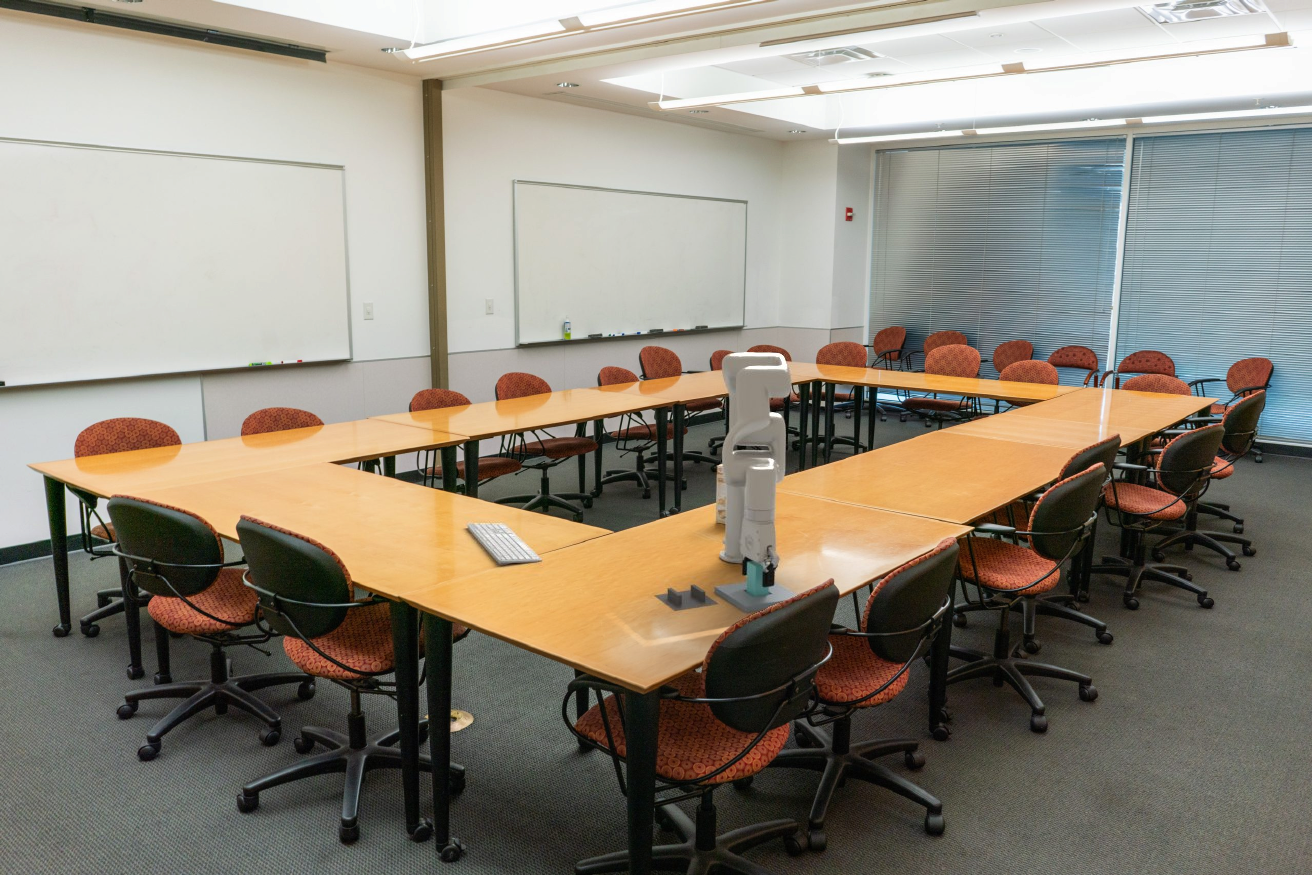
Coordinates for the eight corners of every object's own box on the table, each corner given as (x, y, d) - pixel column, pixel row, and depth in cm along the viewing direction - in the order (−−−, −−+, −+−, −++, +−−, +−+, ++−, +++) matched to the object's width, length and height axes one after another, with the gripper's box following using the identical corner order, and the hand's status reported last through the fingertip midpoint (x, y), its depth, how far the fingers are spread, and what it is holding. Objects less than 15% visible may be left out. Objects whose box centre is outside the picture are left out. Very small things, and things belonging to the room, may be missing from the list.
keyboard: (542, 563, 264) (542, 555, 263) (500, 568, 259) (499, 560, 259) (504, 525, 304) (503, 518, 303) (466, 529, 299) (466, 522, 298)
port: (714, 595, 236) (714, 586, 235) (767, 587, 242) (768, 578, 242) (746, 616, 221) (746, 606, 221) (802, 607, 228) (802, 597, 228)
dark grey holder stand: (654, 599, 233) (654, 585, 232) (696, 592, 238) (696, 579, 237) (675, 614, 222) (675, 600, 222) (718, 607, 227) (719, 594, 227)
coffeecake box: (733, 525, 304) (735, 467, 300) (714, 522, 307) (715, 465, 304) (753, 516, 316) (755, 460, 313) (735, 513, 320) (736, 458, 316)
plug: (746, 600, 233) (747, 561, 231) (759, 597, 235) (760, 559, 233) (754, 605, 229) (755, 566, 228) (768, 602, 231) (769, 564, 229)
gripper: (729, 507, 234) (727, 572, 237) (765, 524, 219) (763, 593, 222) (754, 504, 237) (753, 568, 240) (791, 521, 222) (789, 589, 225)
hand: (757, 580), depth 231 cm, fingers open, 9 cm apart
